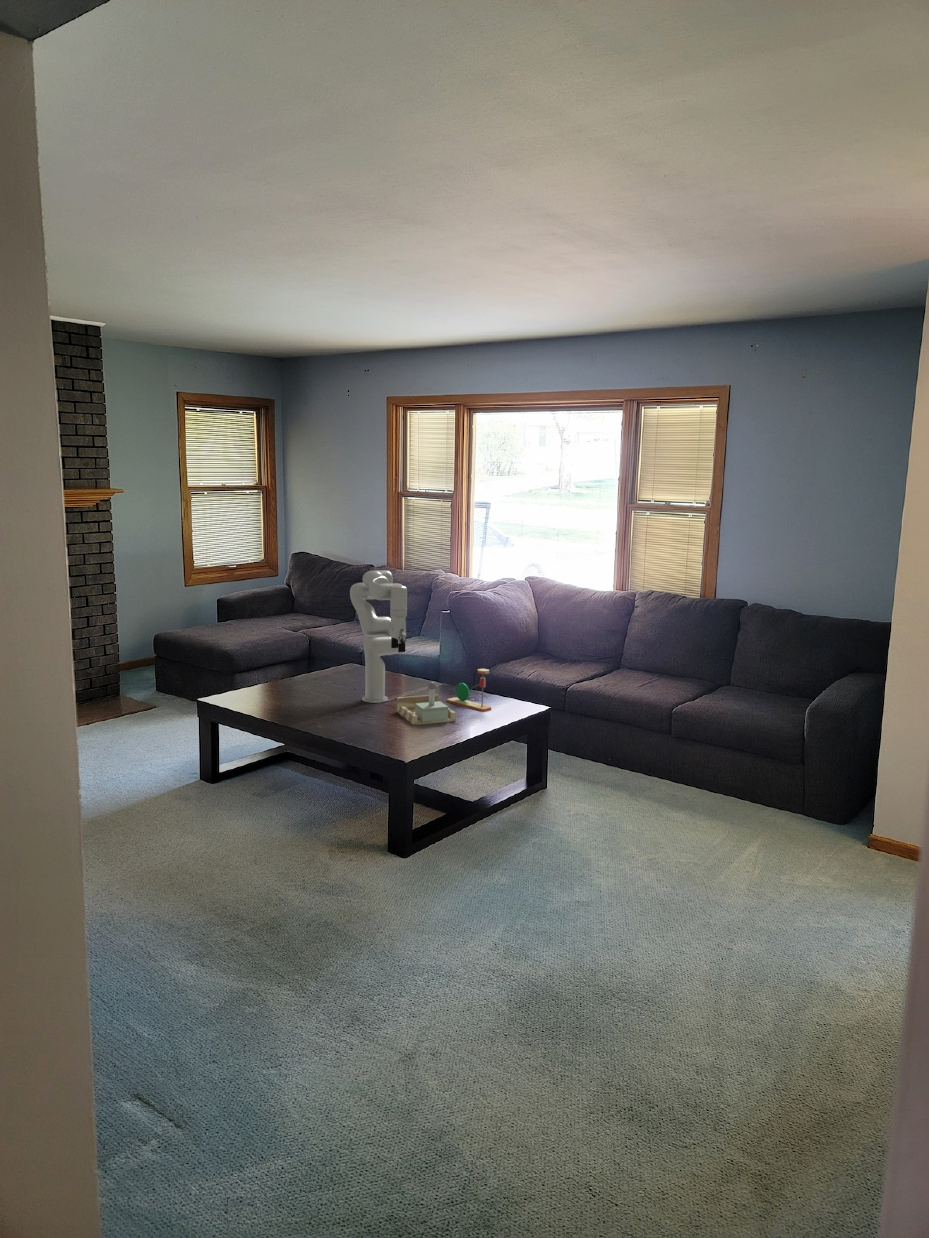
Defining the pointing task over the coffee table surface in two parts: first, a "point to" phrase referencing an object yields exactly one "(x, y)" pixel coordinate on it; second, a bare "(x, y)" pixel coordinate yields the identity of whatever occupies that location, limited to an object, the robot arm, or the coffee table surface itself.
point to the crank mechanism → (463, 694)
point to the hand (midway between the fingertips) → (398, 649)
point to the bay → (408, 709)
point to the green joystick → (431, 708)
